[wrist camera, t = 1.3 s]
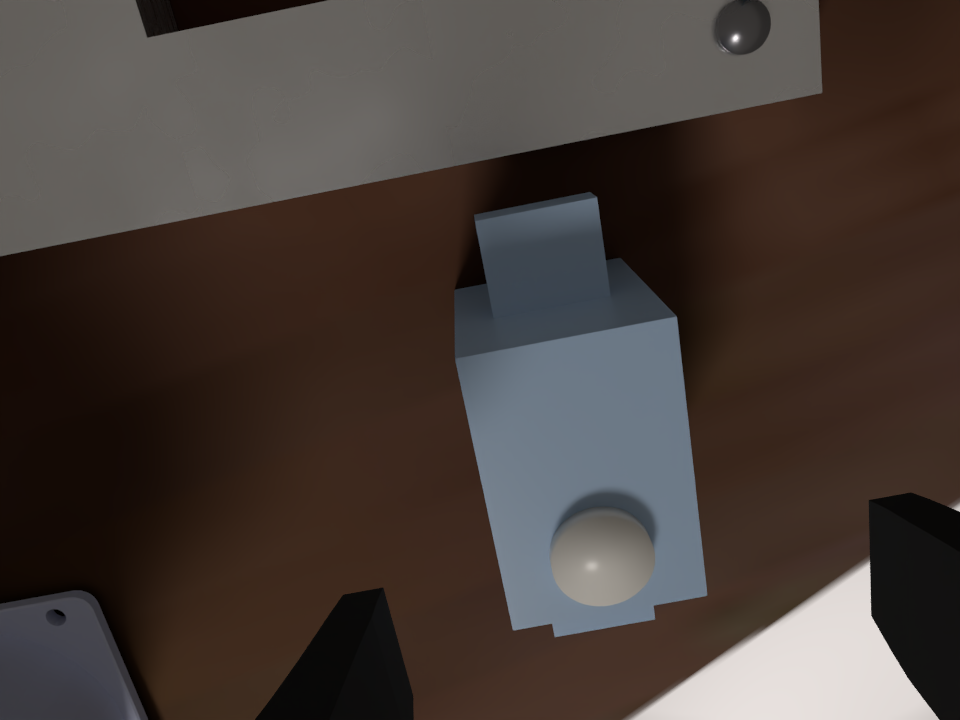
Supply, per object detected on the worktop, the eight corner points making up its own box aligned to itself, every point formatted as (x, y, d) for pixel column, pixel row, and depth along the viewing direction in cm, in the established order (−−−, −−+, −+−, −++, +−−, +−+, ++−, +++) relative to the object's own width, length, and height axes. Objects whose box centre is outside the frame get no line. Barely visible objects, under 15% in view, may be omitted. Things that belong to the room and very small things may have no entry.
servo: (512, 568, 21) (531, 721, 16) (437, 206, 18) (431, 254, 13) (657, 542, 21) (721, 687, 16) (609, 172, 18) (670, 207, 13)
